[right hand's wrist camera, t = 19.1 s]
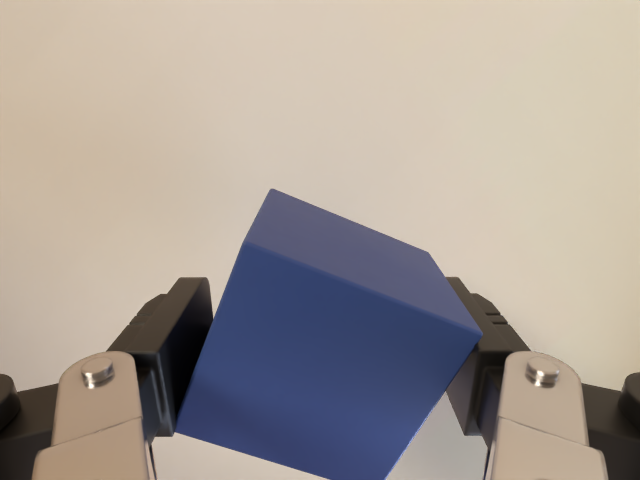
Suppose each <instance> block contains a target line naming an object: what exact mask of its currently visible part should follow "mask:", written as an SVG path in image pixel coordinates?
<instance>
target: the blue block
mask: <svg viewBox="0 0 640 480" xmlns="http://www.w3.org/2000/svg"><path fill="white" fill-rule="evenodd" d="M482 335H483V333H482V331H481V330H480V328H479V327H478V325H477V324H476V322H475V321H474V319H473V318H472V316H471V315H470V313H469V312H468V310H467V309H466V307H465V306H464V304H463V303H462V301H461V300H460V299H459V297H458V296H457V294H456V293H455V291H454V290H453V288H452V287H451V285H450V284H449V282H448V281H447V279H446V278H445V276H444V275H443V273H442V272H441V270H440V269H439V267H438V266H437V264H436V263H435V261H434V260H433V258H432V257H431V255H430V254H429V253H428V252H426V251H424V250H421V249H419V248H416V247H414V246H411V245H409V244H407V243H404V242H402V241H399V240H397V239H394V238H392V237H389V236H387V235H385V234H382V233H380V232H377V231H375V230H372V229H370V228H368V227H365V226H363V225H360V224H358V223H355V222H353V221H350V220H348V219H346V218H343V217H341V216H338V215H336V214H333V213H331V212H328V211H326V210H324V209H321V208H319V207H316V206H314V205H311V204H309V203H307V202H304V201H302V200H299V199H297V198H294V197H292V196H289V195H287V194H285V193H282V192H280V191H277V190H275V189H270V191H269V193H268V194H267V196H266V198H265V200H264V202H263V204H262V206H261V208H260V210H259V212H258V214H257V216H256V218H255V220H254V222H253V224H252V226H251V227H250V229H249V231H248V233H247V235H246V237H245V239H244V241H243V243H242V246H241V248H240V251H239V254H238V256H237V259H236V261H235V264H234V267H233V269H232V272H231V275H230V277H229V280H228V282H227V285H226V288H225V290H224V293H223V296H222V298H221V301H220V304H219V306H218V309H217V311H216V314H215V317H214V319H213V322H212V325H211V327H210V330H209V332H208V335H207V338H206V340H205V343H204V346H203V348H202V351H201V353H200V356H199V359H198V361H197V364H196V367H195V369H194V372H193V375H192V377H191V380H190V382H189V385H188V388H187V390H186V393H185V396H184V398H183V401H182V403H181V406H180V409H179V411H178V414H177V417H176V430H175V432H176V433H180V434H183V435H186V436H189V437H193V438H196V439H199V440H202V441H206V442H209V443H212V444H216V445H219V446H222V447H225V448H229V449H232V450H235V451H238V452H242V453H245V454H248V455H251V456H255V457H258V458H261V459H264V460H268V461H271V462H274V463H278V464H281V465H284V466H287V467H291V468H294V469H297V470H300V471H304V472H307V473H310V474H313V475H317V476H320V477H323V478H326V479H330V480H385V479H386V478H387V477H388V475H389V474H390V472H391V471H392V469H393V468H394V466H395V465H396V463H397V462H398V460H399V459H400V457H401V456H402V454H403V453H404V451H405V450H406V448H407V447H408V445H409V444H410V443H411V441H412V440H413V438H414V437H415V435H416V434H417V432H418V431H419V429H420V428H421V426H422V425H423V423H424V422H425V420H426V419H427V417H428V416H429V414H430V413H431V411H432V410H433V409H434V407H435V406H436V404H437V403H438V401H439V400H440V398H441V397H442V395H443V394H444V392H445V391H446V389H447V388H448V386H449V385H450V383H451V382H452V380H453V379H454V377H455V376H456V375H457V373H458V372H459V370H460V369H461V367H462V366H463V364H464V363H465V361H466V360H467V358H468V357H469V355H470V354H471V352H472V351H473V349H474V346H475V344H477V343H478V342H479V341H480V339H481V338H482Z"/></svg>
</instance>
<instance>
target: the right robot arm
mask: <svg viewBox="0 0 640 480" xmlns="http://www.w3.org/2000/svg"><path fill="white" fill-rule="evenodd" d="M445 278H446V279H447V281H448V282H449V284H450V285H451V287H452V288H453V290H454V291H455V293H456V294H457V296H458V297H459V299H460V300H461V301H462V303H463V304H464V306H465V307H466V309H467V310H468V312H469V313H470V315H471V316H472V318H473V319H474V321H475V322H476V324H477V325H478V327H479V328H480V330H481V331H482V333H483V335H482V338H481V339H480V341H479V342H478V343H477V344H475V346H474V349H473V351H472V352H471V354H470V355H469V357H468V358H467V360H466V361H465V363H464V364H463V366H462V367H461V369H460V370H459V372H458V373H457V375H456V376H455V377H454V379H453V380H452V382H451V383H450V385H449V386H448V388H447V389H446V393H447V395H448V397H449V400H450V402H451V405H452V407H453V409H454V412H455V414H456V416H457V419H458V421H459V424H460V426H461V428H462V431H463V433H464V435H465V436H483V439H484V441H485V443H486V445H487V447H488V449H487V454H486V460H485V466H484V472H483V478H482V480H640V372H639V373H633V374H630V375H629V376H627V378H626V379H625V382H624V385H623V388H622V391H616V390H612V389H607V388H602V387H597V386H592V385H587V384H583V383H581V380H580V378H579V376H578V374H577V373H576V372H575V371H574V370H573V369H572V368H571V367H570V366H568V365H567V364H565V363H564V362H562V361H560V360H558V359H556V358H554V357H552V356H549V355H546V354H543V353H538V352H532V351H531V350H530V349H529V348H528V347H527V345H526V344H525V343H524V342H523V340H522V339H521V338H520V337H519V336H518V334H517V333H516V332H515V331H514V329H513V328H512V327H511V326H510V325H508V322H507V321H506V320H505V318H504V317H503V316H501V315H500V312H499V311H498V310H497V309H496V307H495V306H494V305H493V304H492V303H491V302H490V301H488V300H487V299H485V298H483V297H482V296H480V295H479V294H470V292H469V291H468V290H467V288H466V287H465V286H464V284H463V283H462V282H461V280H460V279H459V278H458V277H445ZM212 322H213V312H212V303H211V294H210V286H209V281H208V279H207V278H206V277H181V278H179V279H178V280H177V282H176V283H175V284H174V286H173V287H172V288H171V290H170V291H169V292H168V293H167V294H160V295H158V296H157V297H155V298H153V299H152V300H150V301H149V302H147V303H146V304H145V305H144V306H143V307H142V308H141V310H140V311H139V312H138V313H137V316H135V317H134V318H133V319H132V321H131V322H130V325H127V327H126V328H125V329H124V330H123V331H122V333H121V334H120V335H119V336H118V338H117V339H116V340H115V341H114V342H113V344H112V345H111V346H110V347H109V348H108V350H107V351H106V352H102V353H97V354H94V355H91V356H88V357H86V358H84V359H82V360H80V361H78V362H76V363H75V364H73V365H72V366H70V367H69V368H68V369H67V370H66V371H65V372H64V373H63V374H62V376H61V378H60V380H59V383H57V384H53V385H49V386H44V387H39V388H35V389H30V390H25V391H20V392H17V391H16V388H15V385H14V382H13V380H12V378H11V377H9V376H7V375H5V374H0V480H158V478H157V472H156V466H155V460H154V454H153V449H152V441H153V439H154V437H173V434H174V432H175V430H176V417H177V414H178V411H179V409H180V406H181V403H182V401H183V398H184V396H185V393H186V390H187V388H188V385H189V382H190V380H191V377H192V375H193V372H194V369H195V367H196V364H197V361H198V359H199V356H200V353H201V351H202V348H203V346H204V343H205V340H206V338H207V335H208V332H209V330H210V327H211V325H212Z"/></svg>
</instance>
